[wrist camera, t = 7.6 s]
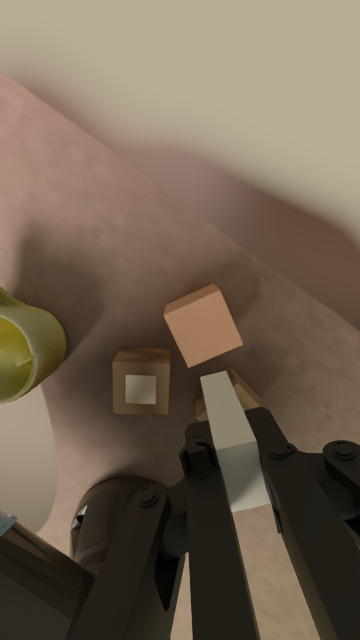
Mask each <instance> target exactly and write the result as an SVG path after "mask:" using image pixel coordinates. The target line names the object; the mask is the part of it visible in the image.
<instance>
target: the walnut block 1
mask: <svg viewBox="0 0 360 640" xmlns="http://www.w3.org/2000/svg"><path fill="white" fill-rule="evenodd" d="M170 359H171V349H162V348H135V347H121V348H120V349H119V351H118V353H117V355H116V356H115V358H114V360H113V362H112V363H113V414H143V415H168V407H169V387H170Z"/></svg>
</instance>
